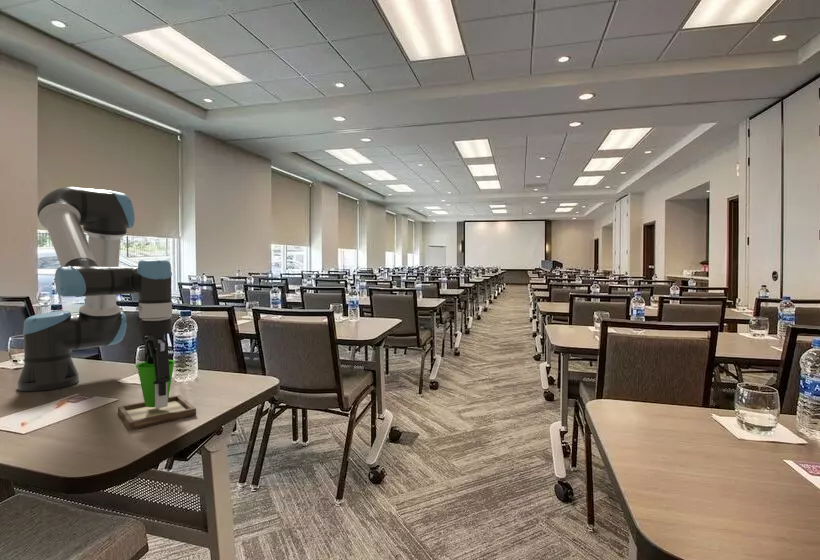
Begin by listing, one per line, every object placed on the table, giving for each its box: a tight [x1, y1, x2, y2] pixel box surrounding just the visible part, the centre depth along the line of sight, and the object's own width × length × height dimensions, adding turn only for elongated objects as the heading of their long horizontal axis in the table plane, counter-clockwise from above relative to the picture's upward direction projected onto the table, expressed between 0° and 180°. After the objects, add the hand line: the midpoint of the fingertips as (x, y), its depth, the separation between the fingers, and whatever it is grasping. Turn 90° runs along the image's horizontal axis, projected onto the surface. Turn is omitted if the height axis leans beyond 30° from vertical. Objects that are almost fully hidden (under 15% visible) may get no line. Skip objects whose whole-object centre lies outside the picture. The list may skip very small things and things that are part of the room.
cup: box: [135, 359, 176, 407], centre depth 113 cm, size 9×9×11 cm
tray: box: [117, 394, 197, 432], centre depth 114 cm, size 15×15×2 cm
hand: (156, 402), depth 114 cm, fingers closed on cup, 9 cm apart
